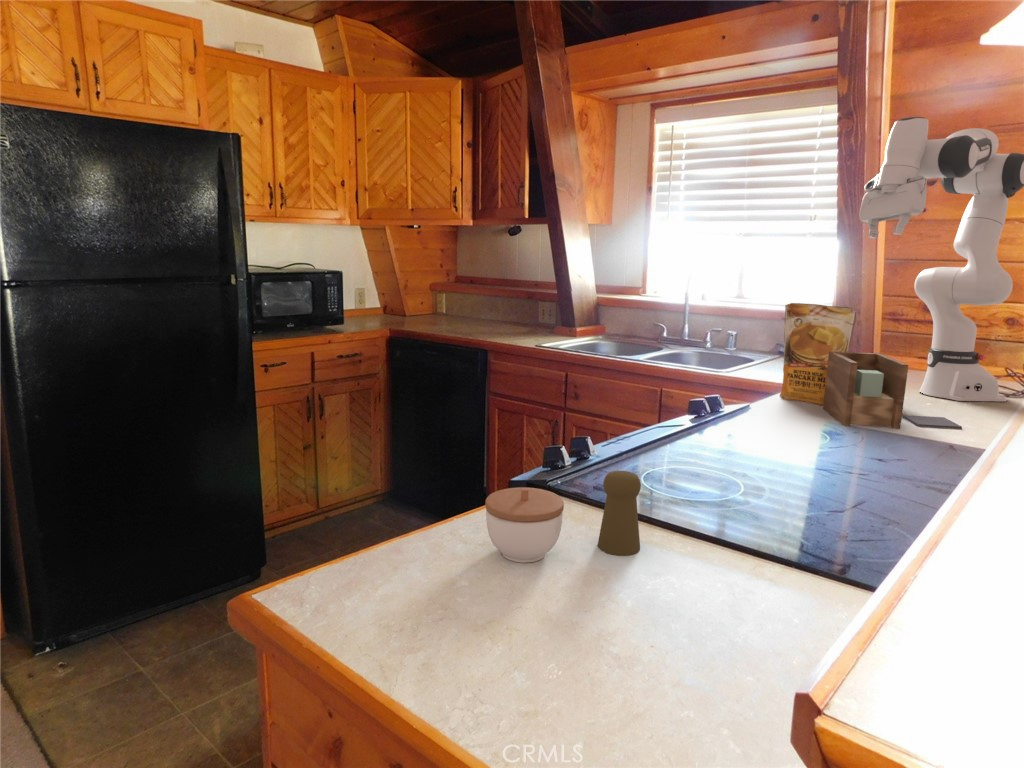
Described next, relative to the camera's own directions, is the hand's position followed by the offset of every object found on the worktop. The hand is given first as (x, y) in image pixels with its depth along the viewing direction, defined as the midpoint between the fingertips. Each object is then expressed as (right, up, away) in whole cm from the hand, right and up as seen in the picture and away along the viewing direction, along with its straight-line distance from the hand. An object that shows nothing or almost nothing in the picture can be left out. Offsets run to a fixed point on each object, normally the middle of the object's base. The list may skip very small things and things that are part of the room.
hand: (884, 236), depth 174 cm
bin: (-5, -47, +4) cm, 47 cm away
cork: (-80, -61, -77) cm, 127 cm away
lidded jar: (-94, -62, -79) cm, 138 cm away
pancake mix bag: (-9, -43, +24) cm, 50 cm away
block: (-5, -41, -1) cm, 41 cm away
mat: (+12, -48, 0) cm, 49 cm away
